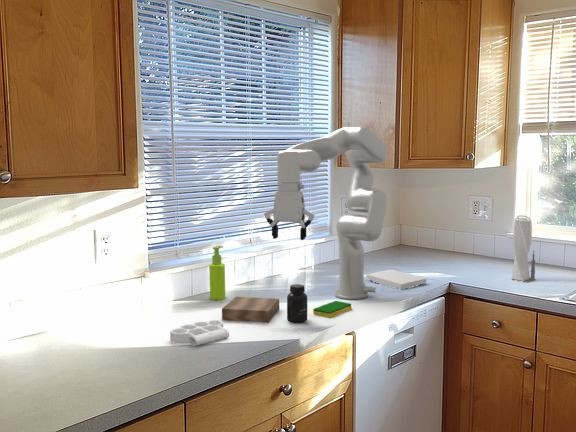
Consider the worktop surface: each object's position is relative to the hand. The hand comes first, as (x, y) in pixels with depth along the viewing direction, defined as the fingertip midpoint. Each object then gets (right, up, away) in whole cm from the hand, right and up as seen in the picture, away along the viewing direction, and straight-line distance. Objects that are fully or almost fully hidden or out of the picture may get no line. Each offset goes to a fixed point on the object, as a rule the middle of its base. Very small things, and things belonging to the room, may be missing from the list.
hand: (289, 238), depth 201 cm
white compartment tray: (-27, -30, -16) cm, 44 cm away
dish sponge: (+15, -27, +10) cm, 32 cm away
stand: (-13, -27, +7) cm, 30 cm away
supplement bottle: (+3, -28, -1) cm, 28 cm away
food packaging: (+45, -21, +52) cm, 72 cm away
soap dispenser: (-27, -24, +30) cm, 47 cm away
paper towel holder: (+99, -20, +54) cm, 115 cm away
